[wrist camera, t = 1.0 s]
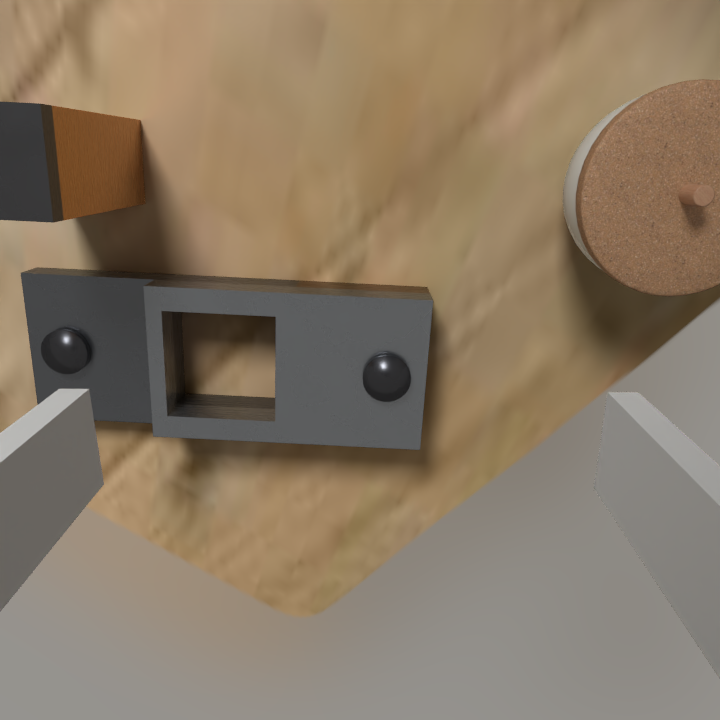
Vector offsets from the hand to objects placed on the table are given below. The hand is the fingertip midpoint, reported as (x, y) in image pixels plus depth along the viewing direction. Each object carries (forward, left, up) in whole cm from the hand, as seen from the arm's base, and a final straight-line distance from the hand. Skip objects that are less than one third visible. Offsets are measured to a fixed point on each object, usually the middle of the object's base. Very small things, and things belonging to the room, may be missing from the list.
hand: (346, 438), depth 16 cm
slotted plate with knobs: (+6, -9, -26) cm, 28 cm away
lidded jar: (-6, +16, -26) cm, 31 cm away
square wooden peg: (-6, -17, -26) cm, 31 cm away
